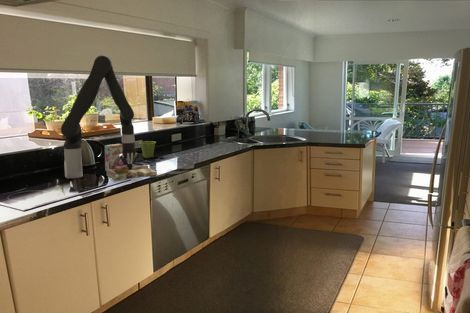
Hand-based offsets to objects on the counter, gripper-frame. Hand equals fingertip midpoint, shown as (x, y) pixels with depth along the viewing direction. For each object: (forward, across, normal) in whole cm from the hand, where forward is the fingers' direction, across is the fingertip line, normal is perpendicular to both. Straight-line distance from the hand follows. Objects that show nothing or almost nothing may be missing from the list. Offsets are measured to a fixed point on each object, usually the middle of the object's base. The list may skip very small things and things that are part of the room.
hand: (129, 169), depth 244 cm
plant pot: (+4, +32, +47) cm, 56 cm away
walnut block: (+1, -5, 0) cm, 5 cm away
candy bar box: (+3, -4, +17) cm, 17 cm away
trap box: (+3, 0, -2) cm, 4 cm away
